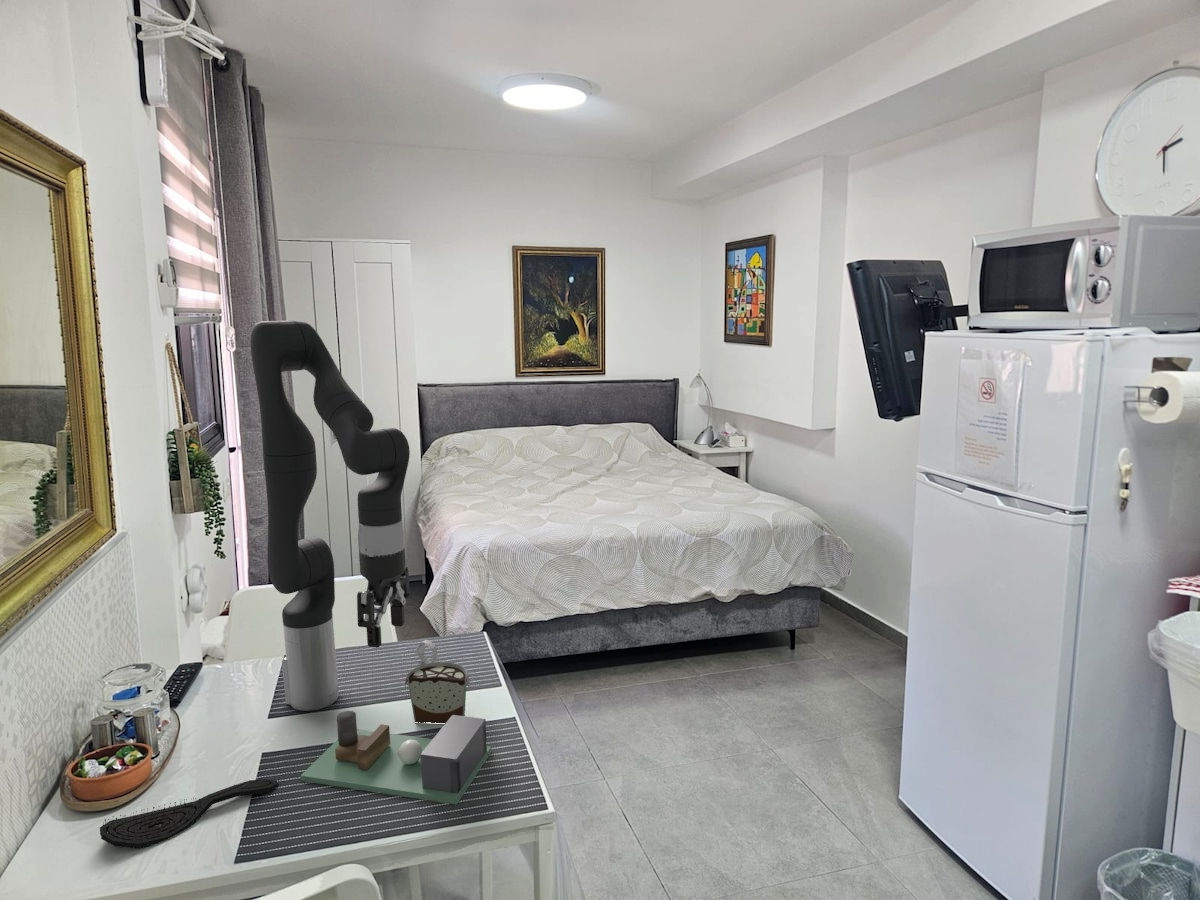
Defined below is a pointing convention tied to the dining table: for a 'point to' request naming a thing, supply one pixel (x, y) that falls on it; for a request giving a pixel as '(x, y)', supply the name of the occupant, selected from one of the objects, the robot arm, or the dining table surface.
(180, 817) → the hairbrush
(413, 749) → the ball
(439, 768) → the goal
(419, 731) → the dining table surface
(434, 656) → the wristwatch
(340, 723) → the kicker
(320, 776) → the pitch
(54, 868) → the dining table surface
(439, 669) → the food container
